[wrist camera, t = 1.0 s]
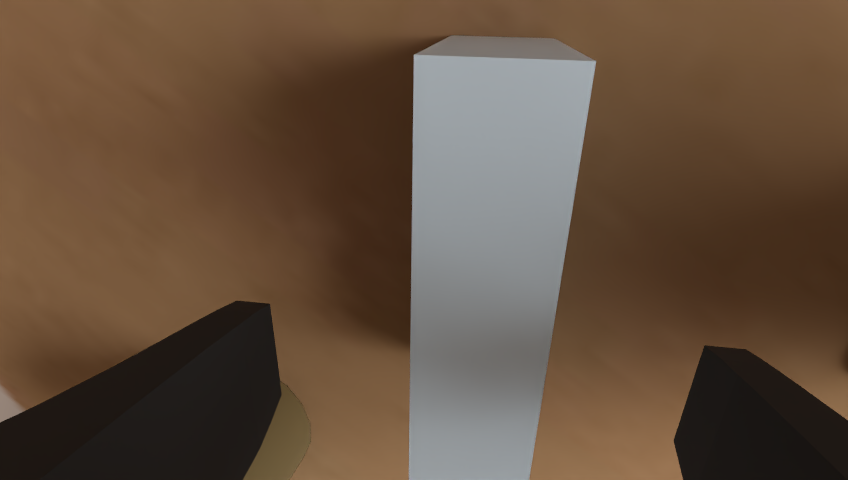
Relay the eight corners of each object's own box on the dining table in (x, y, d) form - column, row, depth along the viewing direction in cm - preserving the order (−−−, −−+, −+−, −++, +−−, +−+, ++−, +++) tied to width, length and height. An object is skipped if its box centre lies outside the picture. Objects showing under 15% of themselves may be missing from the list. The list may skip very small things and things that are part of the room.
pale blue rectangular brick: (451, 34, 12) (414, 54, 7) (553, 38, 12) (596, 61, 7) (438, 356, 17) (408, 521, 11) (513, 364, 16) (519, 538, 11)
